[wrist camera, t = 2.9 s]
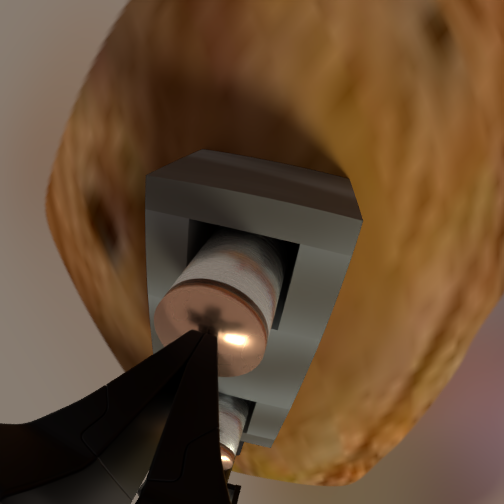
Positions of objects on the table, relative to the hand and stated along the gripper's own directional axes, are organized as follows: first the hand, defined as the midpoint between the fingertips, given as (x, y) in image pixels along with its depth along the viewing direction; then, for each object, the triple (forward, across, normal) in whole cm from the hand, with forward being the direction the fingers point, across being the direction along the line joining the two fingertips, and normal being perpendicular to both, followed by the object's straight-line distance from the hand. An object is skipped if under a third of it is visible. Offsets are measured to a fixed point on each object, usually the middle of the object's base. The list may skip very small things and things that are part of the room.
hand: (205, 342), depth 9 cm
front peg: (+6, 0, 0) cm, 6 cm away
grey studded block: (+10, 0, +5) cm, 11 cm away
